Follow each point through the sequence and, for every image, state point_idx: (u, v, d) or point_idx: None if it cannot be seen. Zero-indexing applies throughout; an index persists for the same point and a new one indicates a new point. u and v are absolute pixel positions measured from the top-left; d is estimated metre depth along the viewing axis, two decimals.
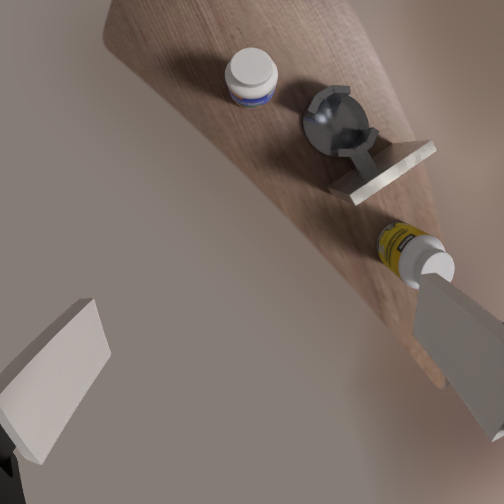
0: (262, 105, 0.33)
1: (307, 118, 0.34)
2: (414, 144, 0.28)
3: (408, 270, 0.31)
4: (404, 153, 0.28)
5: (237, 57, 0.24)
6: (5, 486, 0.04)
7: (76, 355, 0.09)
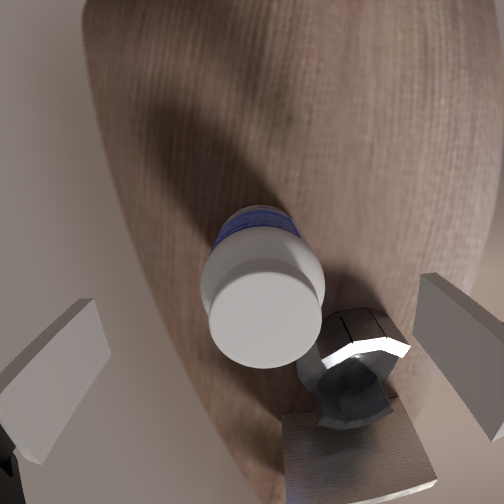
0: None
1: None
2: (417, 458, 0.17)
3: None
4: (395, 474, 0.16)
5: (245, 287, 0.10)
6: (5, 486, 0.04)
7: (76, 355, 0.09)
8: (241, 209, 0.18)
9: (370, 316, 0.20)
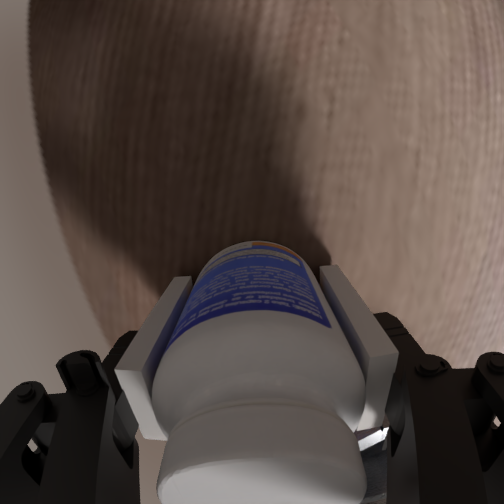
0: None
1: None
2: None
3: None
4: None
5: (219, 476, 0.04)
6: (125, 482, 0.05)
7: None
8: (227, 248, 0.12)
9: None
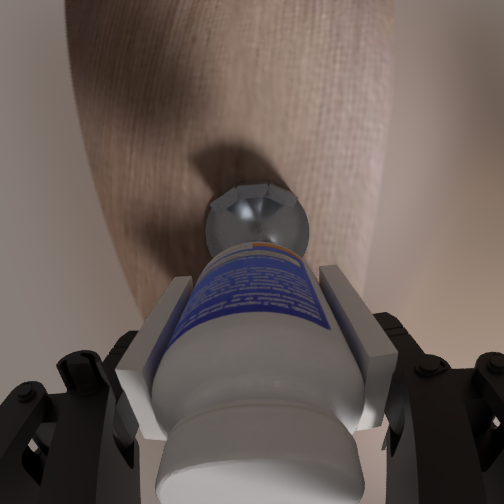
0: None
1: None
2: None
3: None
4: None
5: (217, 476, 0.04)
6: (125, 481, 0.05)
7: None
8: (228, 249, 0.12)
9: (264, 181, 0.23)
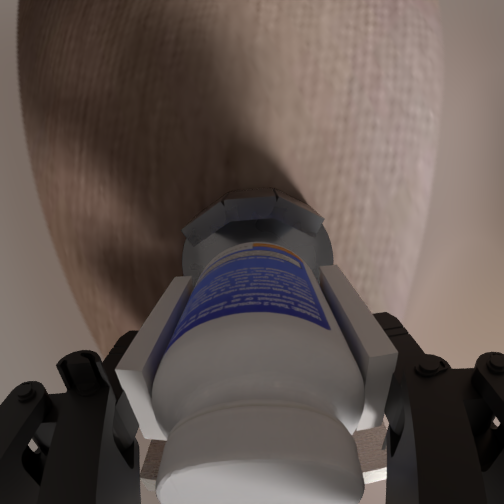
0: None
1: None
2: None
3: None
4: None
5: (217, 476, 0.04)
6: (125, 482, 0.05)
7: None
8: (228, 249, 0.12)
9: (269, 190, 0.15)
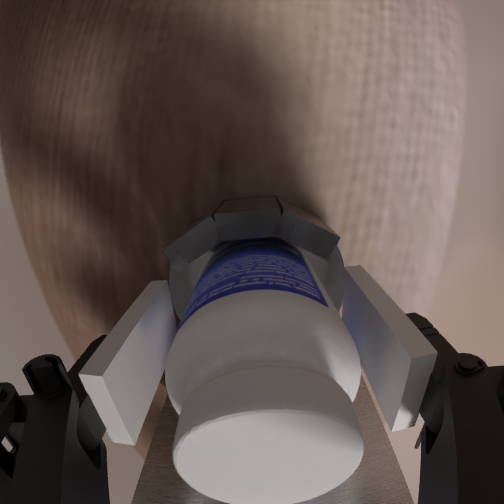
0: None
1: None
2: (381, 472, 0.09)
3: None
4: (335, 500, 0.08)
5: (233, 430, 0.05)
6: (92, 481, 0.05)
7: (158, 333, 0.11)
8: (232, 241, 0.13)
9: (271, 199, 0.12)
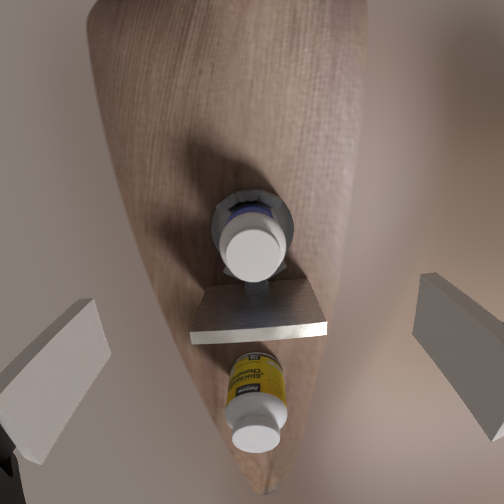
0: None
1: None
2: (311, 308, 0.26)
3: (231, 416, 0.28)
4: (287, 315, 0.25)
5: (243, 237, 0.22)
6: (5, 486, 0.04)
7: (76, 355, 0.09)
8: (241, 206, 0.30)
9: None
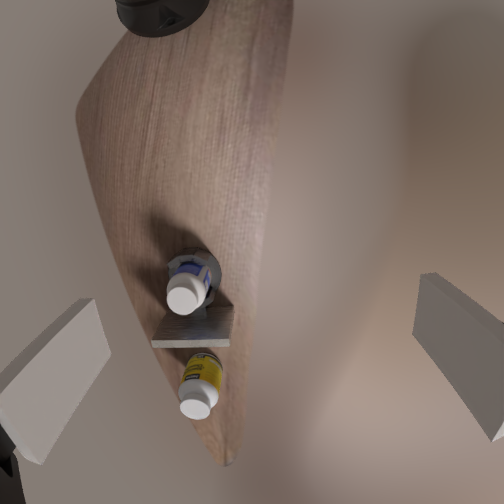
0: None
1: None
2: (224, 329, 0.42)
3: (181, 394, 0.44)
4: (208, 333, 0.41)
5: (175, 291, 0.38)
6: (5, 486, 0.04)
7: (76, 355, 0.09)
8: None
9: (195, 249, 0.45)
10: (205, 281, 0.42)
